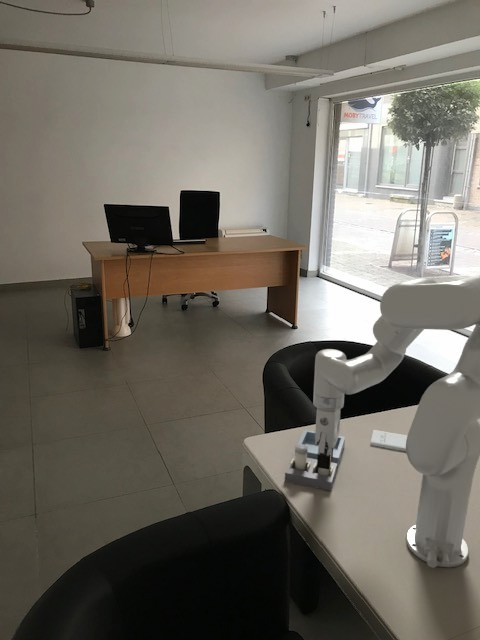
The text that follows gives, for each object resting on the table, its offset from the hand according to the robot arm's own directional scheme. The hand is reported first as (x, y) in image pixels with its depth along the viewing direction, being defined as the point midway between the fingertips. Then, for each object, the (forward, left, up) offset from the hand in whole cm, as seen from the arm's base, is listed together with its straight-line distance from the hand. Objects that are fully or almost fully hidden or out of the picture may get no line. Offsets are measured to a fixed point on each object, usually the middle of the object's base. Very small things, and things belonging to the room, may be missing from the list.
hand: (324, 463), depth 136 cm
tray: (+13, +3, -5) cm, 14 cm away
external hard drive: (+26, -16, -6) cm, 31 cm away
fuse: (0, +6, -5) cm, 8 cm away
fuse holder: (0, +3, -5) cm, 6 cm away
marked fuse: (0, 0, -3) cm, 3 cm away
